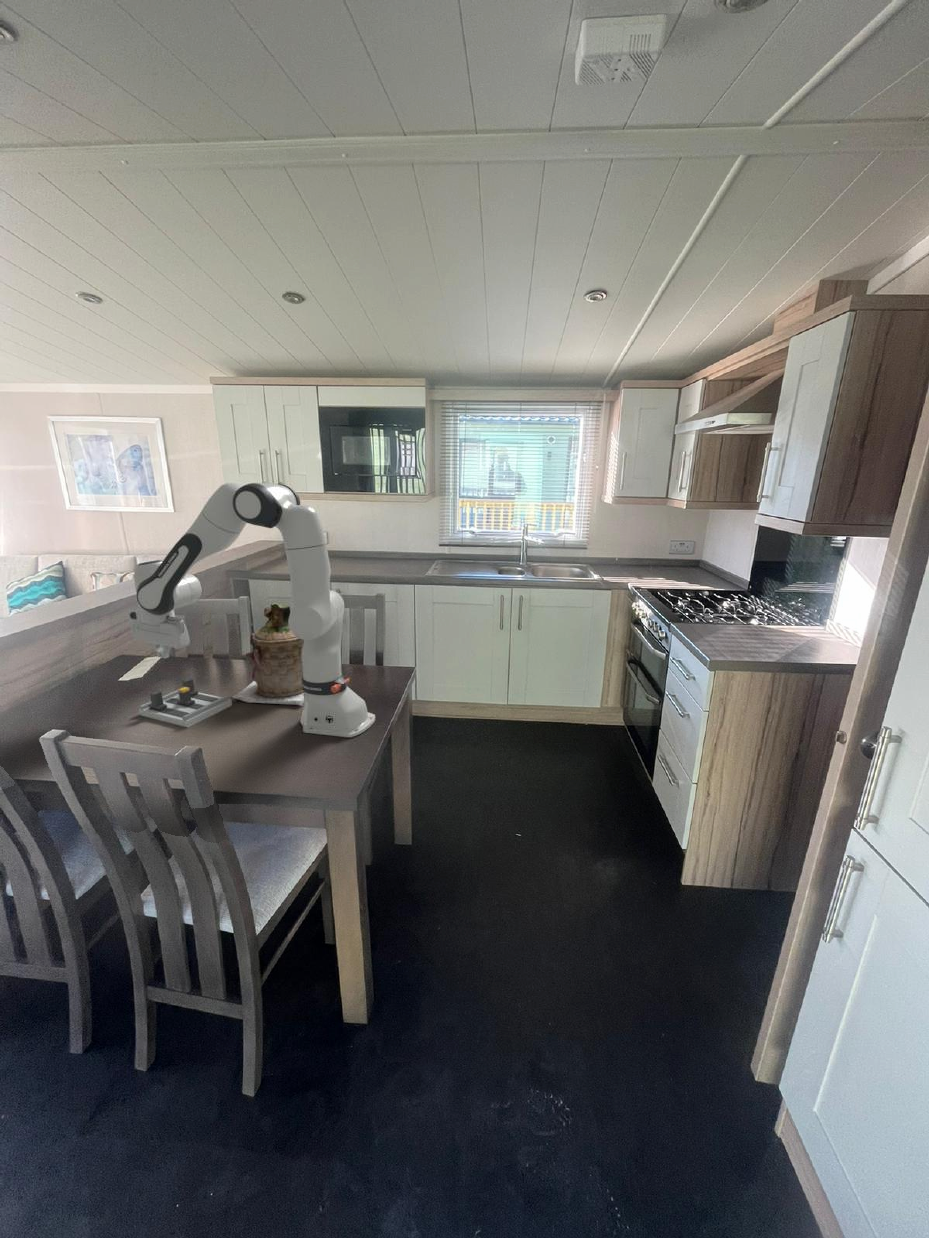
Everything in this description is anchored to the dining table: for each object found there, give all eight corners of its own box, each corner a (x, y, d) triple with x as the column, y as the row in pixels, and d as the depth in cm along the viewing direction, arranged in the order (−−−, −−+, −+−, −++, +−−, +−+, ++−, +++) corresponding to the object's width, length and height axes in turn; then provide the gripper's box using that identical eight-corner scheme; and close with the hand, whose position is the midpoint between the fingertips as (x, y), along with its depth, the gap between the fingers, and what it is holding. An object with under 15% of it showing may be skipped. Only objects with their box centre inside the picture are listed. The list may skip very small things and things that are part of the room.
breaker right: (198, 693, 154) (196, 679, 153) (192, 695, 152) (190, 682, 151) (187, 690, 156) (185, 677, 154) (181, 693, 154) (178, 679, 152)
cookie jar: (331, 678, 175) (326, 594, 166) (302, 708, 151) (295, 612, 143) (267, 674, 177) (259, 591, 168) (229, 703, 153) (218, 608, 145)
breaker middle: (195, 702, 147) (193, 688, 146) (188, 705, 145) (186, 691, 144) (183, 699, 149) (181, 685, 148) (177, 702, 147) (174, 688, 146)
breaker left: (167, 707, 144) (164, 692, 143) (160, 710, 142) (158, 695, 141) (155, 704, 146) (153, 689, 145) (148, 707, 144) (146, 692, 143)
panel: (231, 705, 152) (230, 696, 151) (188, 727, 137) (186, 717, 137) (186, 694, 159) (184, 686, 158) (139, 715, 144) (138, 705, 143)
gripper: (192, 615, 141) (197, 659, 145) (143, 607, 148) (150, 649, 152) (173, 621, 136) (179, 665, 139) (123, 612, 142) (130, 655, 146)
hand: (163, 657), depth 146 cm, fingers closed
